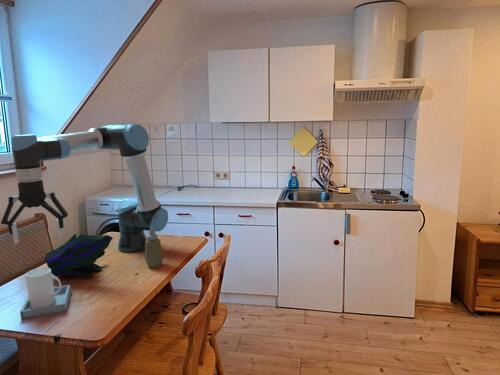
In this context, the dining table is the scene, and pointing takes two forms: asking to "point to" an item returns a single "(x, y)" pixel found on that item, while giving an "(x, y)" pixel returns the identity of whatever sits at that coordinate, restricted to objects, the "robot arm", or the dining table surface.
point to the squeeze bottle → (153, 250)
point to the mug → (41, 287)
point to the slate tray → (54, 308)
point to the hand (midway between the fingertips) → (38, 239)
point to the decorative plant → (77, 255)
